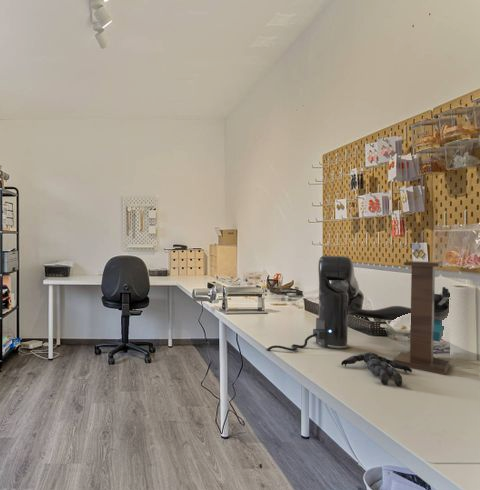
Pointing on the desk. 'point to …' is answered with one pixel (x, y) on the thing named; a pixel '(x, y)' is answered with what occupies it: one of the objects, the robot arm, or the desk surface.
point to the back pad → (438, 330)
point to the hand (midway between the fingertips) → (431, 288)
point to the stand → (422, 320)
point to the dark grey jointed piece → (380, 366)
